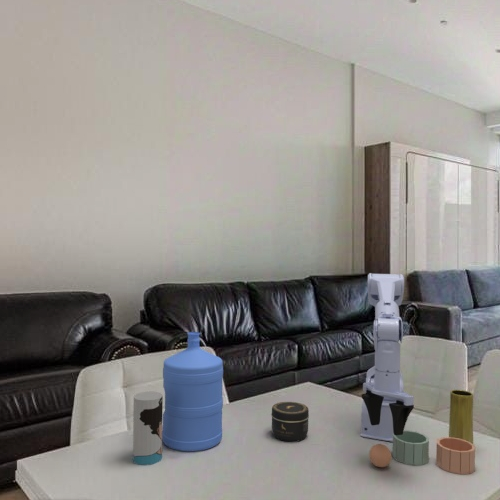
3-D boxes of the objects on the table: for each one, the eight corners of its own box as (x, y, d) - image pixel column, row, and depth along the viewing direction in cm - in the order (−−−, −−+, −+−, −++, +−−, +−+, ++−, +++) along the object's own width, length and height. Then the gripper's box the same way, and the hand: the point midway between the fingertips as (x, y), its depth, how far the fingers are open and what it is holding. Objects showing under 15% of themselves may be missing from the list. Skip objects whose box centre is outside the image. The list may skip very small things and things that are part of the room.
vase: (476, 454, 118) (477, 397, 118) (450, 452, 119) (451, 395, 119) (470, 444, 124) (471, 390, 124) (445, 442, 125) (446, 388, 125)
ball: (367, 468, 110) (367, 447, 110) (371, 459, 115) (371, 439, 115) (389, 473, 108) (390, 451, 108) (392, 463, 113) (392, 442, 113)
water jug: (234, 439, 125) (236, 333, 125) (187, 458, 114) (189, 341, 113) (196, 423, 136) (197, 325, 136) (149, 439, 125) (151, 332, 124)
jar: (265, 439, 126) (266, 410, 126) (278, 425, 135) (278, 399, 135) (302, 445, 122) (303, 415, 122) (312, 431, 132) (313, 404, 131)
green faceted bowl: (390, 460, 114) (391, 440, 114) (395, 447, 122) (395, 428, 122) (427, 467, 111) (427, 446, 111) (429, 453, 118) (429, 433, 118)
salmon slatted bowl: (435, 469, 110) (436, 447, 110) (437, 455, 118) (437, 435, 118) (474, 476, 107) (475, 454, 107) (474, 461, 114) (474, 441, 114)
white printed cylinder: (165, 461, 112) (166, 398, 112) (136, 467, 109) (137, 402, 109) (157, 450, 118) (158, 390, 118) (130, 455, 115) (130, 393, 115)
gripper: (353, 365, 116) (352, 422, 115) (396, 377, 103) (396, 441, 102) (375, 363, 119) (375, 419, 119) (420, 375, 106) (420, 437, 106)
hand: (386, 429), depth 111 cm, fingers open, 7 cm apart
